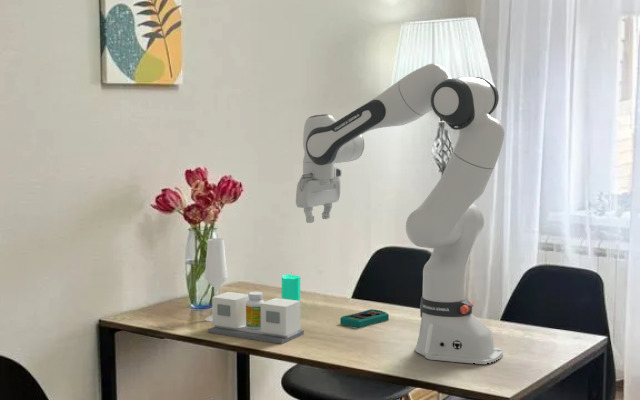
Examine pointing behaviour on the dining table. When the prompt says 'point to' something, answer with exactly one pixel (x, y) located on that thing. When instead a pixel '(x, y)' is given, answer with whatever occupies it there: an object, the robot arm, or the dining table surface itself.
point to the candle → (291, 287)
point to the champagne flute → (215, 265)
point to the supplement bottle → (254, 310)
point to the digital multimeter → (364, 318)
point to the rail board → (275, 318)
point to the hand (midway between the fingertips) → (318, 220)
